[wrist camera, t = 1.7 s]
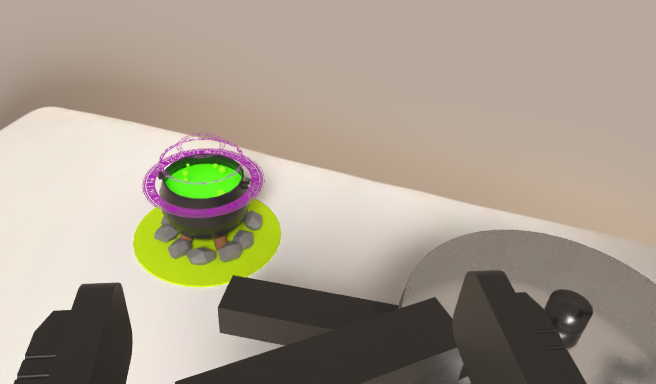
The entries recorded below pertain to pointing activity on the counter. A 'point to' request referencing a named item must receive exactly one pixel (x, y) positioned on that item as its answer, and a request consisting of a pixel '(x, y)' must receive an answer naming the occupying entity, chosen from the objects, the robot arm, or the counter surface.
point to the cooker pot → (289, 311)
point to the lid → (439, 305)
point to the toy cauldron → (205, 220)
